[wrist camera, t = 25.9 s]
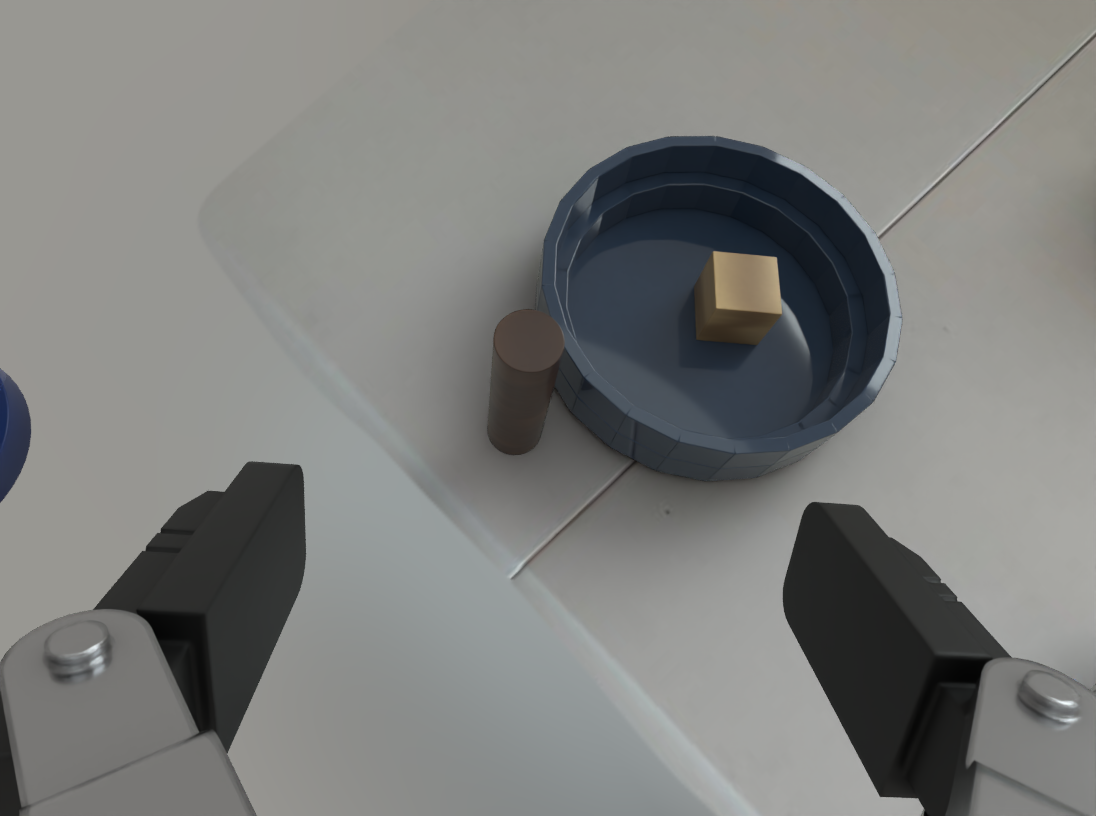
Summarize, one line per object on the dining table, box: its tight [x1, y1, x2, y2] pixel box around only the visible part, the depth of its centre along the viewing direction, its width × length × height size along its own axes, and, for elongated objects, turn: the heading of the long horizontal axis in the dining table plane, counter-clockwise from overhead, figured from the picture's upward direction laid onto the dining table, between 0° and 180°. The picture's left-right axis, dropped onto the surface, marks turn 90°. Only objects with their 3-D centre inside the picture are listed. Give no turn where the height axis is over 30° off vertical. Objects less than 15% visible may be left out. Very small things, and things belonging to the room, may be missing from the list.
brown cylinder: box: [487, 309, 565, 455], centre depth 33 cm, size 3×3×10 cm
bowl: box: [535, 136, 903, 481], centre depth 39 cm, size 18×19×5 cm
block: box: [694, 251, 782, 345], centre depth 39 cm, size 4×4×4 cm
